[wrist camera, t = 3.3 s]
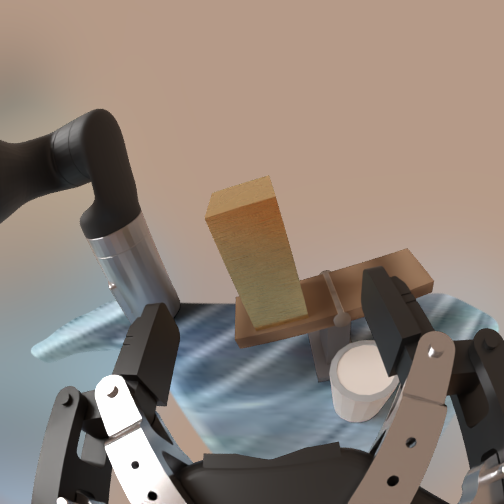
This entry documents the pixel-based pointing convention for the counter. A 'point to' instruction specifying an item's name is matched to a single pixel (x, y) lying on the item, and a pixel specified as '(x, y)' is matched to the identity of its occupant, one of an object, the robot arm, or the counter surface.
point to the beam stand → (327, 347)
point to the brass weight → (257, 252)
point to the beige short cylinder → (360, 381)
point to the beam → (334, 298)
